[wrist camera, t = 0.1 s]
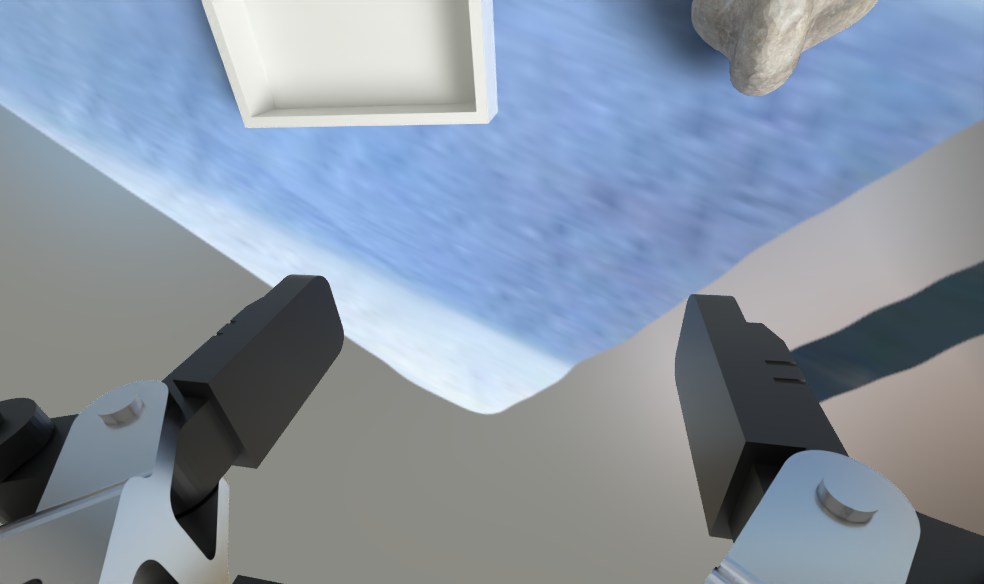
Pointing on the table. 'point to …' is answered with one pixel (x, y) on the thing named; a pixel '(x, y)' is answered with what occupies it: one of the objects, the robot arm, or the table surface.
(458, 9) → the tray
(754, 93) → the stone
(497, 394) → the table surface
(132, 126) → the table surface
